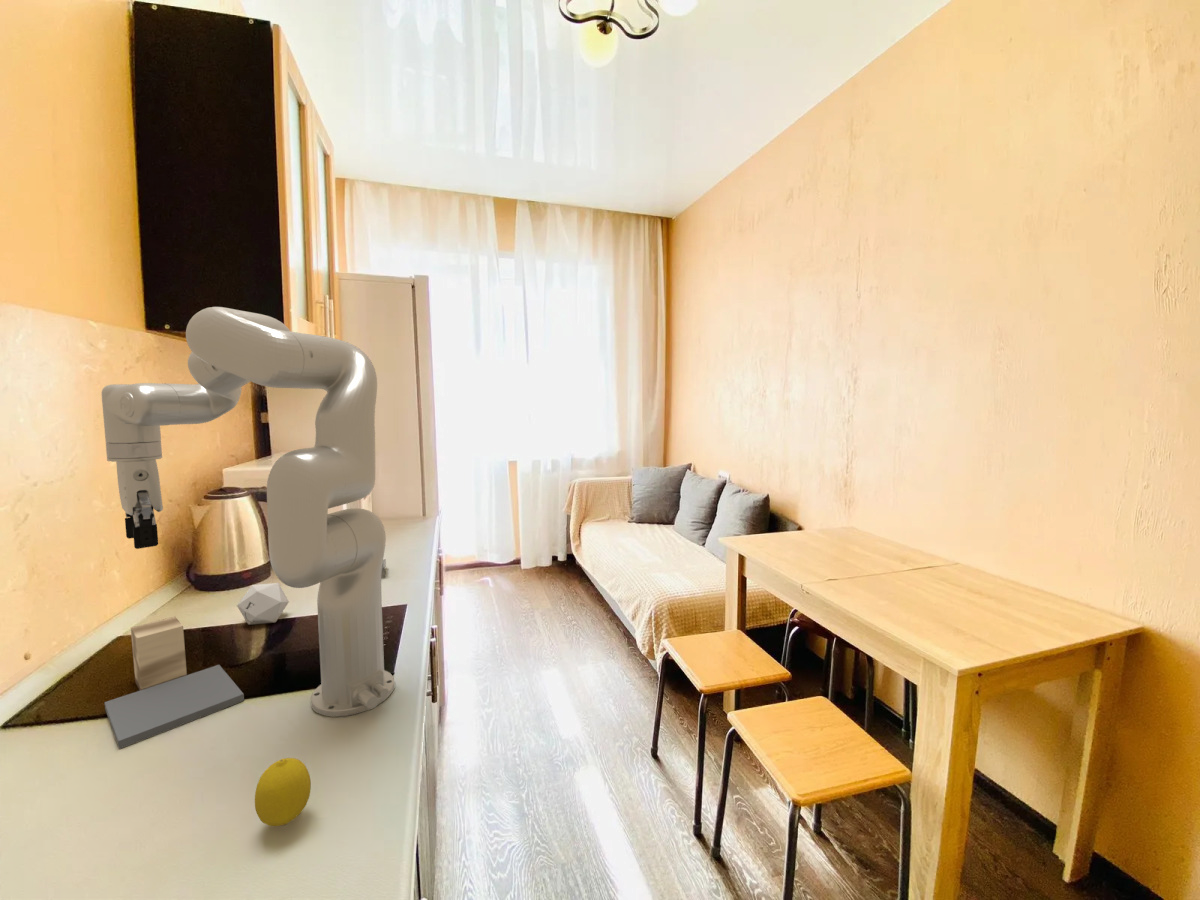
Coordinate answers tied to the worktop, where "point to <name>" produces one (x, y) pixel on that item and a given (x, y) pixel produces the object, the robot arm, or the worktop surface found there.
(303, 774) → the lemon
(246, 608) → the die
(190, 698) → the mat
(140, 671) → the birch block
